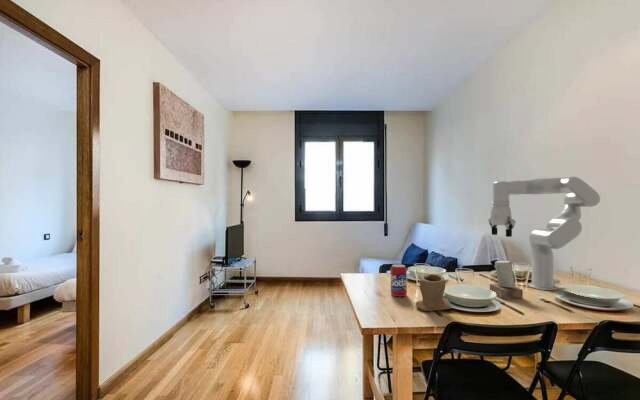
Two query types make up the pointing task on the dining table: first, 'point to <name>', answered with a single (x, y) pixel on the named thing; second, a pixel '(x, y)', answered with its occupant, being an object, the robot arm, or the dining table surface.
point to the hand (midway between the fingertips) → (501, 235)
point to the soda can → (398, 280)
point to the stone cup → (432, 293)
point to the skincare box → (504, 274)
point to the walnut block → (507, 292)
